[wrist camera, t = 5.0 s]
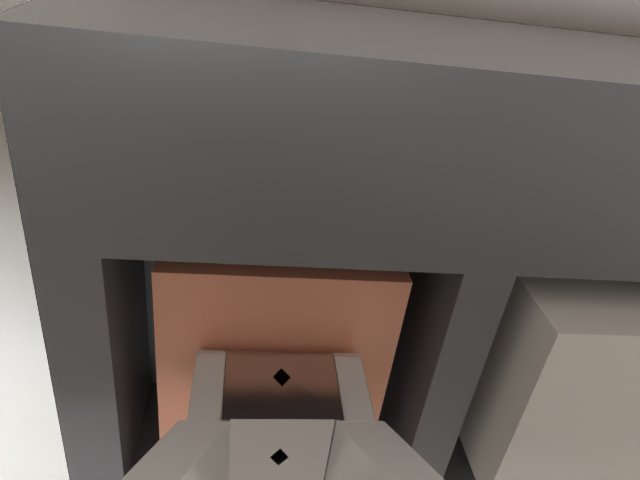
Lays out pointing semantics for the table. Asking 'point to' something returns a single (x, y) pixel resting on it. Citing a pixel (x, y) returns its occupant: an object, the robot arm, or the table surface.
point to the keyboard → (307, 181)
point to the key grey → (560, 385)
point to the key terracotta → (271, 319)
